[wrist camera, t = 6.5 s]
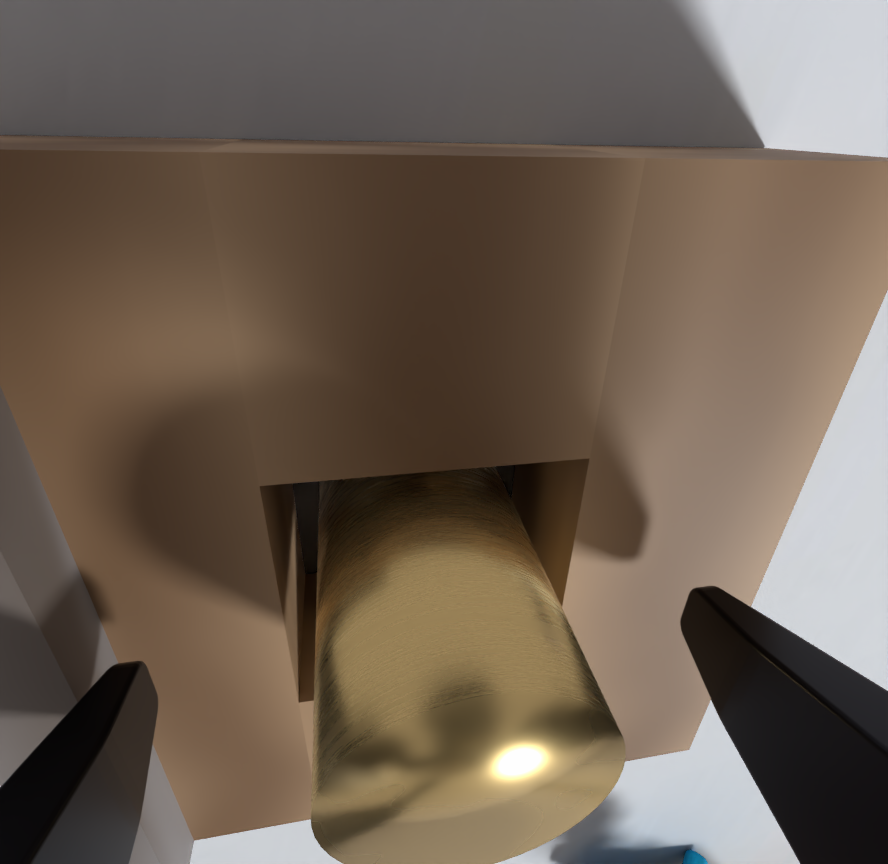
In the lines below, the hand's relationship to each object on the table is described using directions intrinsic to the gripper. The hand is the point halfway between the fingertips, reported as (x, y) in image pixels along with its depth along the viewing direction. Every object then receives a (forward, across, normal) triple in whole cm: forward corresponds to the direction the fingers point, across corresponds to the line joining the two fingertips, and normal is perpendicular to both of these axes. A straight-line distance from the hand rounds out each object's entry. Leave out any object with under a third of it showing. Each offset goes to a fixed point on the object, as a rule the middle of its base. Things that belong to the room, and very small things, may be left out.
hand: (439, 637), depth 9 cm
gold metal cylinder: (+4, 0, 0) cm, 5 cm away
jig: (+4, 0, 0) cm, 4 cm away
